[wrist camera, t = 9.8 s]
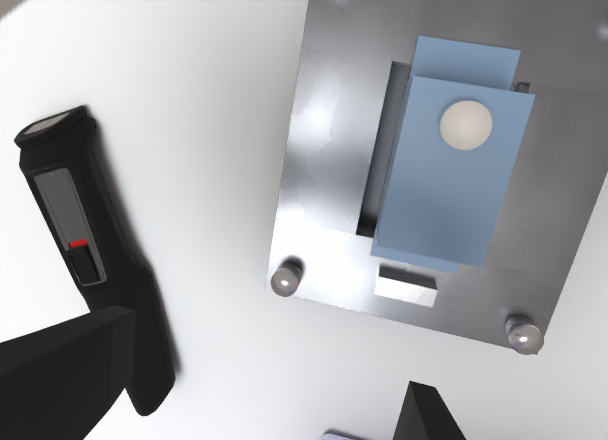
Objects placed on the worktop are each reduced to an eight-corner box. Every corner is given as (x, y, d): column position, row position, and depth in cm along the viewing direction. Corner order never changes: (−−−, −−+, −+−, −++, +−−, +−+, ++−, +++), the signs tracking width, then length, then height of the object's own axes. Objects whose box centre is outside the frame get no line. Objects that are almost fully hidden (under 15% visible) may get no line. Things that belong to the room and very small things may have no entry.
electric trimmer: (142, 384, 25) (110, 423, 22) (33, 123, 22) (-23, 127, 19) (199, 375, 24) (174, 416, 21) (95, 102, 21) (47, 103, 18)
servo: (449, 256, 19) (472, 317, 14) (371, 240, 20) (365, 292, 14) (505, 55, 17) (560, 36, 11) (415, 42, 17) (427, 17, 12)
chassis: (526, 335, 20) (545, 368, 17) (273, 276, 21) (258, 299, 19) (650, -1, 15) (699, -19, 13) (323, -44, 17) (312, -68, 15)
